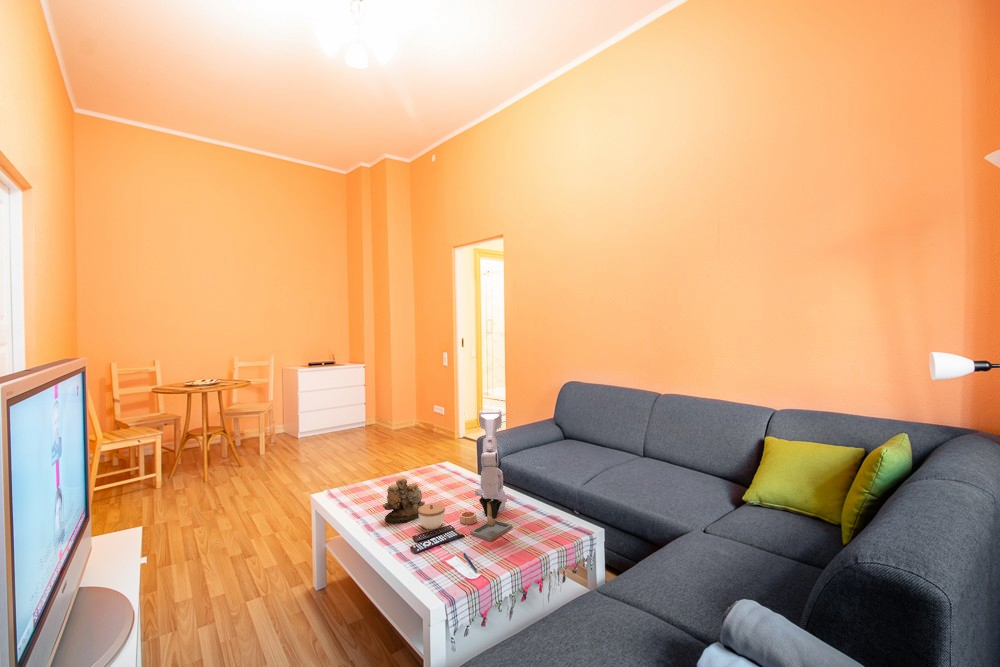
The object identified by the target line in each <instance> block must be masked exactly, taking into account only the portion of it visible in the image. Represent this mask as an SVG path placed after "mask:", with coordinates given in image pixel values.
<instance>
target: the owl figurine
mask: <svg viewBox="0 0 1000 667" xmlns="http://www.w3.org/2000/svg"><path fill="white" fill-rule="evenodd" d="M407 483H408V480H407V478H405V477H398V479H397V480H396V481H395V483H392V484H390V485H389V486H388V487H387V495H386V501H387V502H386V503H385V502H384V503H383V504H382V507H383V508H384V510H385V511H390V512H388V513H387V514H386V515H385V516H384V520H385V522H386V523H389V524H392V525H393V524H396V525H397V524H407V523H408V522H411V521H414V520H417V519H419V513H418V509H419V508H420V507H421V506H423V505H426V502H425V501H422V500H423V494H422V489H421V488H420V487H419V485H418V484H417V483H414V482H413V483H411V484H409V485H408V484H407ZM391 510H392V511H391Z"/></svg>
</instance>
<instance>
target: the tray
mask: <svg viewBox="0 0 1000 667" xmlns="http://www.w3.org/2000/svg"><path fill="white" fill-rule="evenodd" d="M511 529H513V524H511V523H507V522H505V521H501V520H499V519H495V526H494V527H488V524H487V521H486V522H484V523H482V524H481V525H479V526H477V527H475V528H474V529H471V530H470V531H469V535H471V536H474V537H476V538H479V539H482V540H485V541H488V542H492V541H494V540H495V539H497V538H498V537H500V536H502V535H503V534H505V533H506V532H508V531H510V530H511Z"/></svg>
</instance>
